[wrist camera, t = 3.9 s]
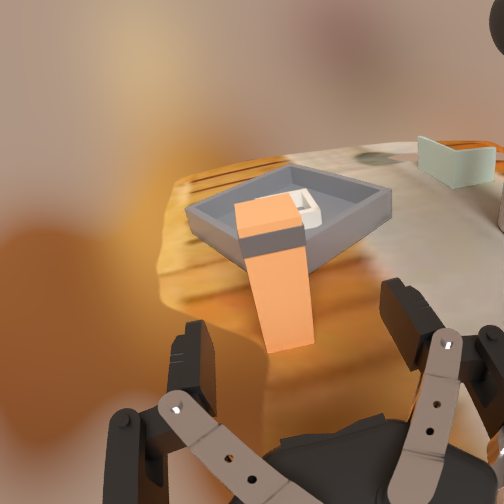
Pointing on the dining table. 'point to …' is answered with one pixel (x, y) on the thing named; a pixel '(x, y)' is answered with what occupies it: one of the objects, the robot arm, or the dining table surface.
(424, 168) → the l-shaped corner panel
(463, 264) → the dining table surface
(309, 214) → the walled box
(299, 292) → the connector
